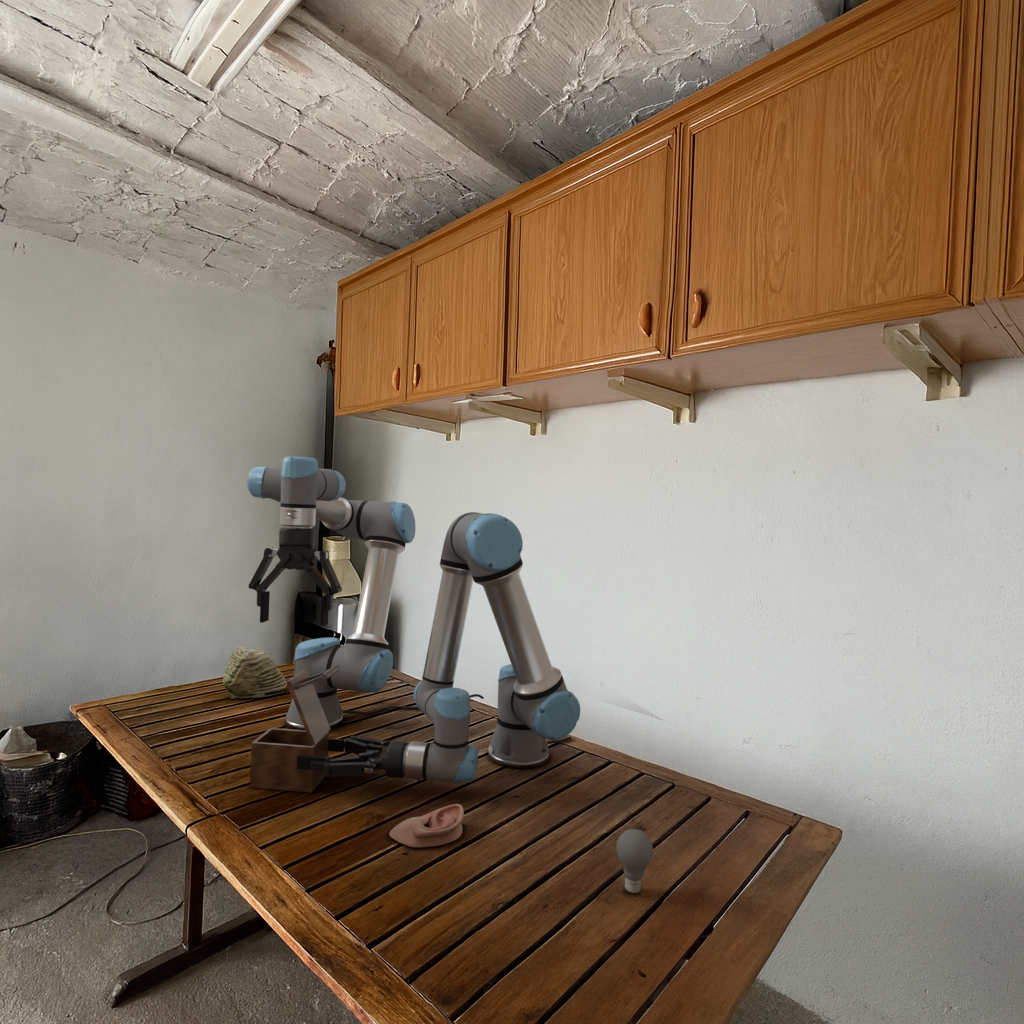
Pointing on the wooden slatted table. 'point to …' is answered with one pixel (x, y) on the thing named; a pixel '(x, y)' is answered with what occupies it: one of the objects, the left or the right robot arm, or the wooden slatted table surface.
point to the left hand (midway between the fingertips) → (294, 623)
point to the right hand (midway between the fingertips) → (306, 752)
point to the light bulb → (634, 857)
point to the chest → (285, 760)
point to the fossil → (252, 674)
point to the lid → (310, 702)
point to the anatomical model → (431, 828)
